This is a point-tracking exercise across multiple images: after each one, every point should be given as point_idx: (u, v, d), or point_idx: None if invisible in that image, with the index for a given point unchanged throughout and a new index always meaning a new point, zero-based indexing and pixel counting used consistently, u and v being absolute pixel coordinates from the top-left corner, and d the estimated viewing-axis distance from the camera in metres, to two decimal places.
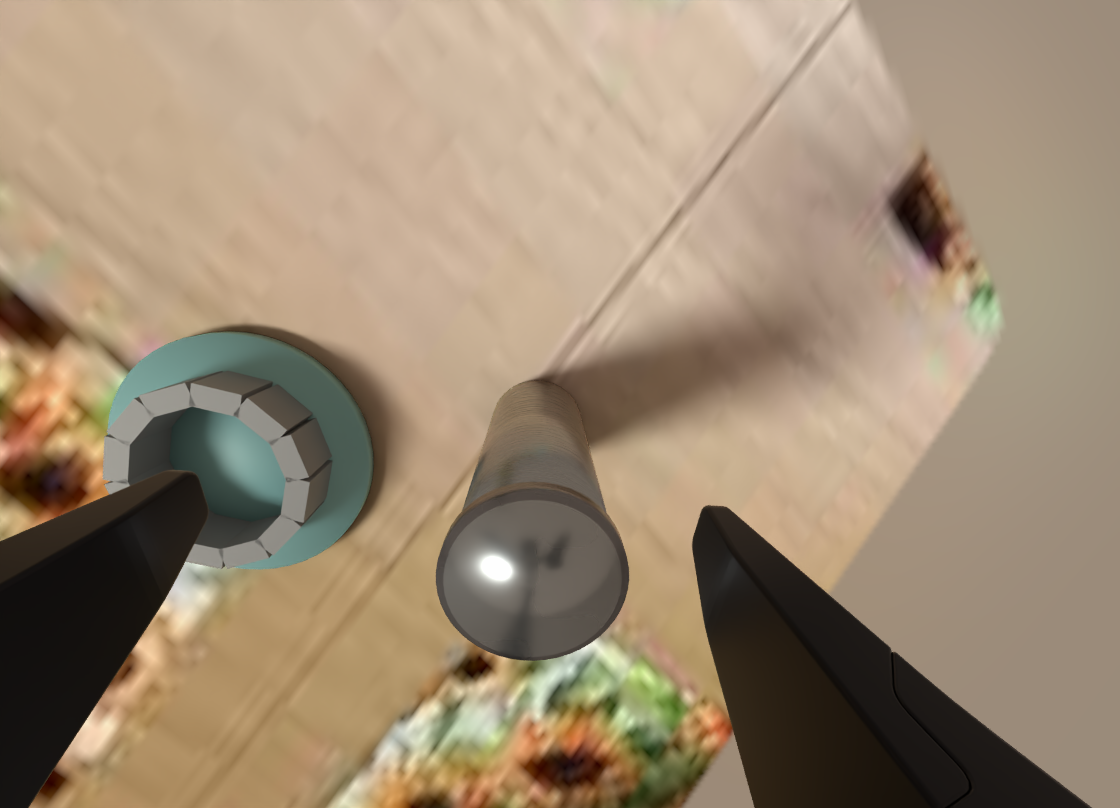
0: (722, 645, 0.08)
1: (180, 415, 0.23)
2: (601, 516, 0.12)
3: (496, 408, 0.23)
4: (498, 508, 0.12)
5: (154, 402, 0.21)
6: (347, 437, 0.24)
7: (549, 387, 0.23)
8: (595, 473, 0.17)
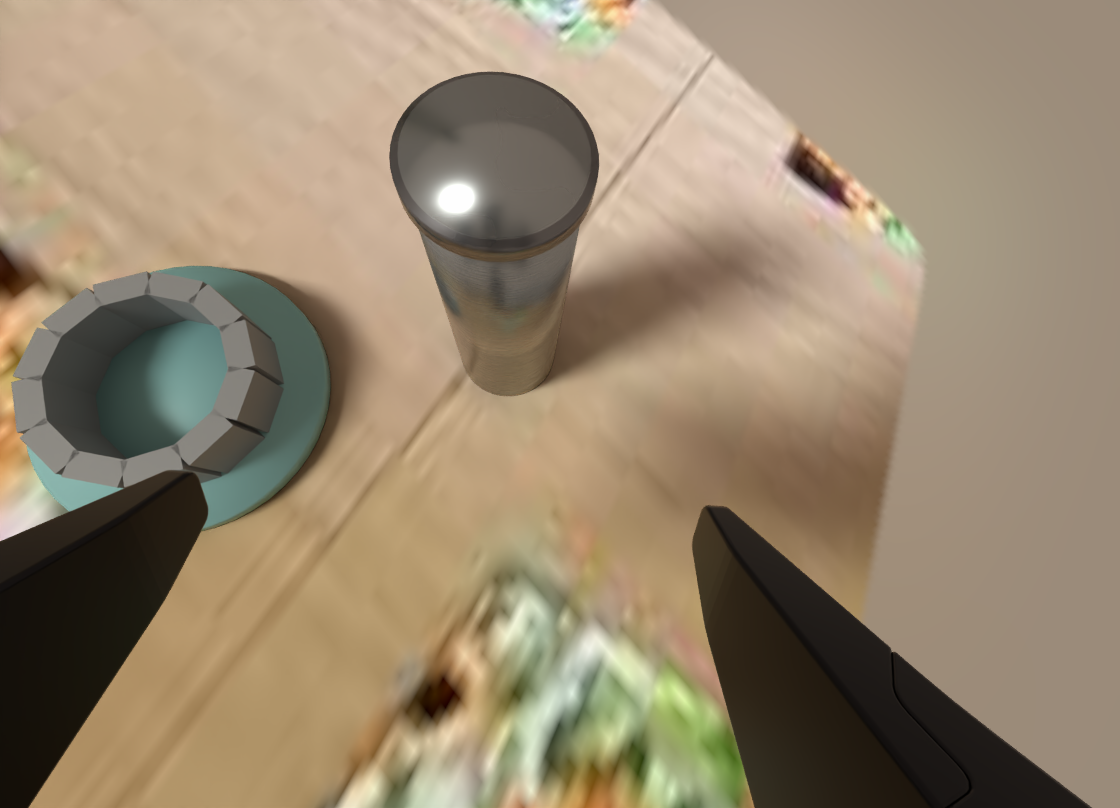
0: (722, 645, 0.08)
1: (126, 343, 0.22)
2: (561, 95, 0.12)
3: None
4: (458, 81, 0.12)
5: (107, 291, 0.20)
6: (304, 362, 0.22)
7: None
8: None
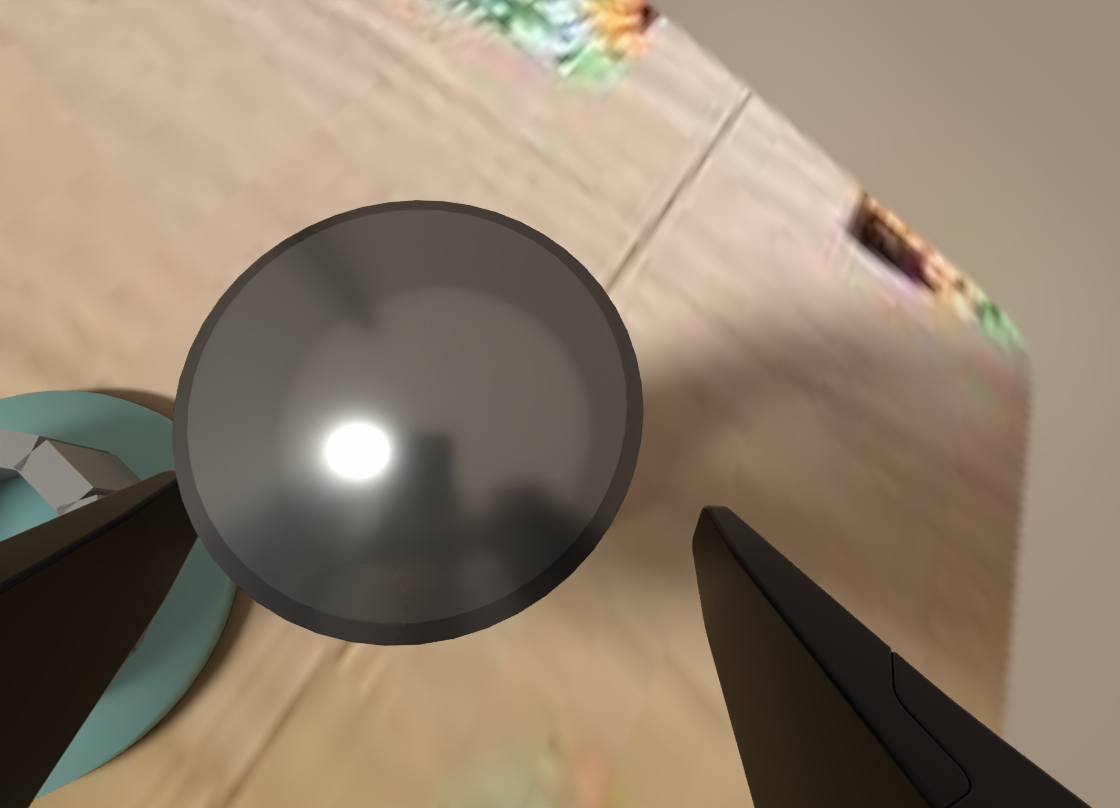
0: (722, 645, 0.08)
1: None
2: (562, 249, 0.06)
3: None
4: (343, 226, 0.06)
5: None
6: None
7: None
8: None
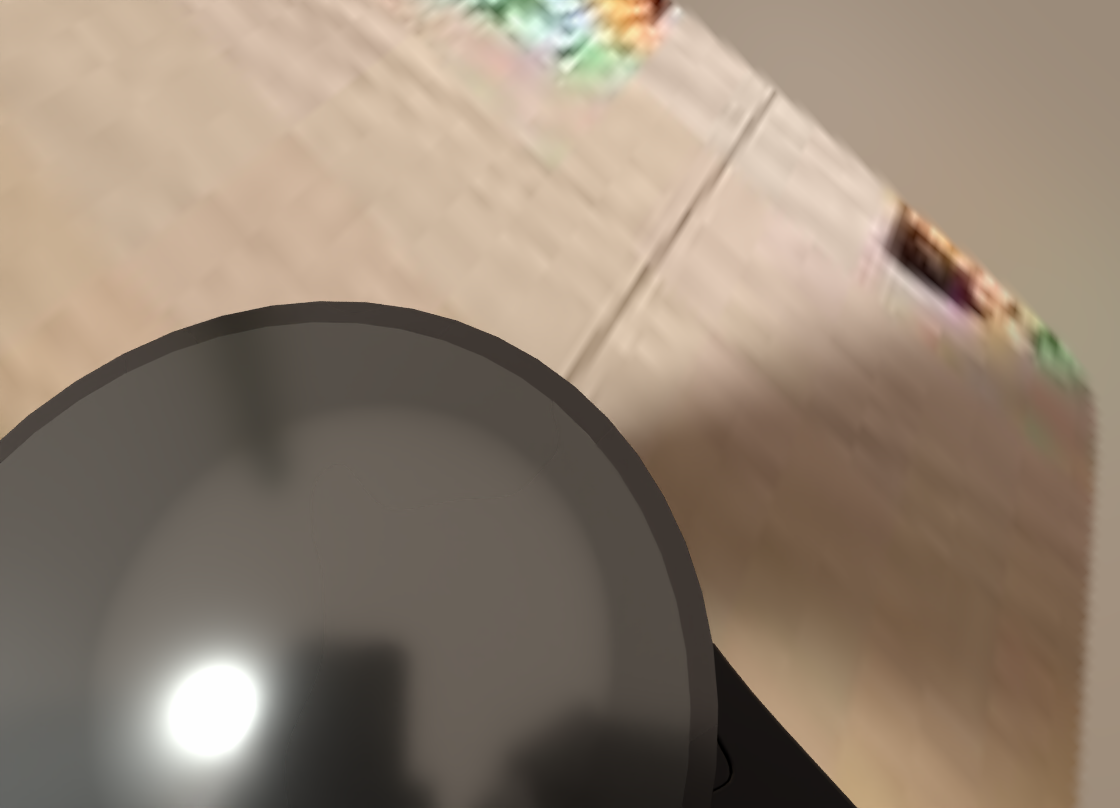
0: None
1: None
2: (569, 384, 0.03)
3: None
4: (182, 355, 0.03)
5: None
6: None
7: None
8: None
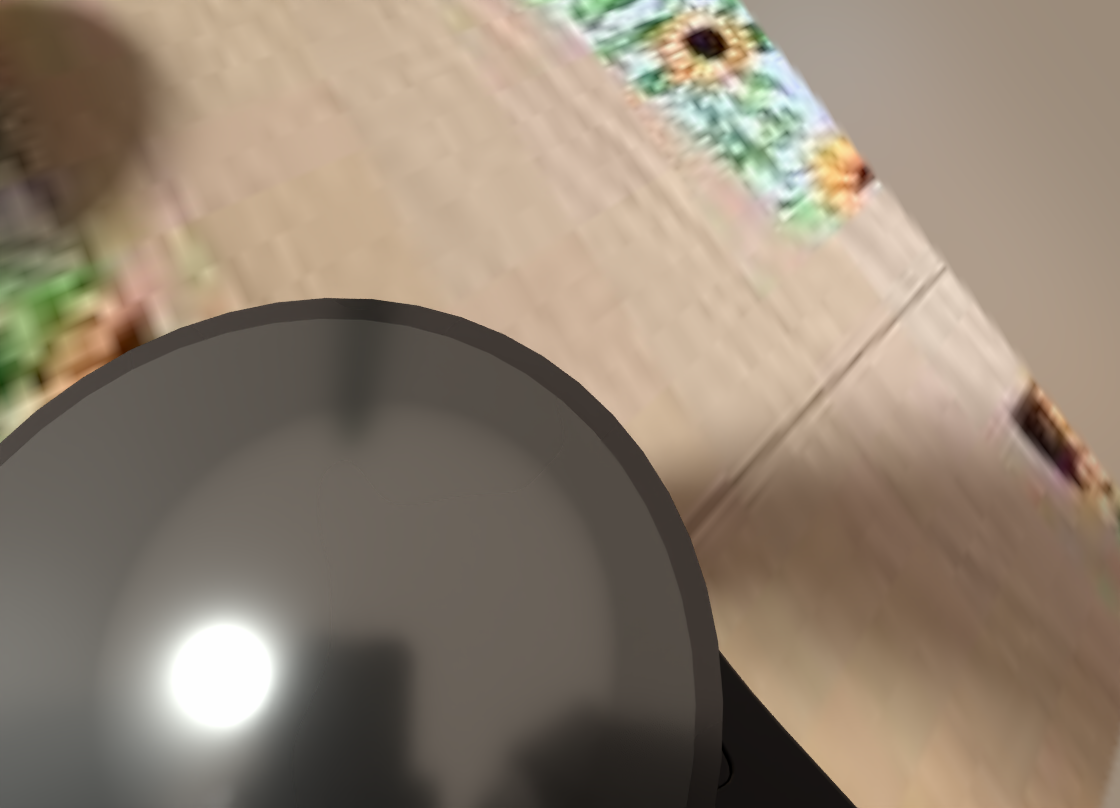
0: None
1: None
2: (574, 381, 0.03)
3: None
4: (189, 351, 0.03)
5: None
6: None
7: None
8: None
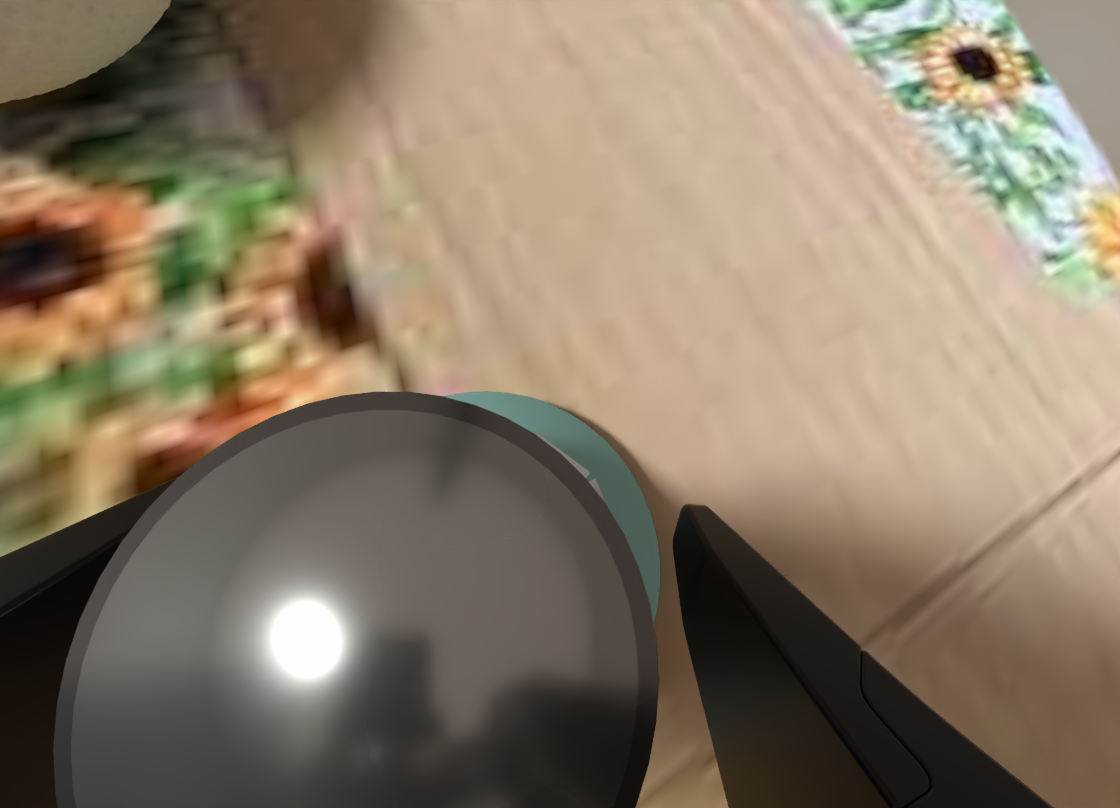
0: (699, 644, 0.08)
1: None
2: (557, 452, 0.05)
3: None
4: (282, 435, 0.04)
5: None
6: None
7: None
8: None
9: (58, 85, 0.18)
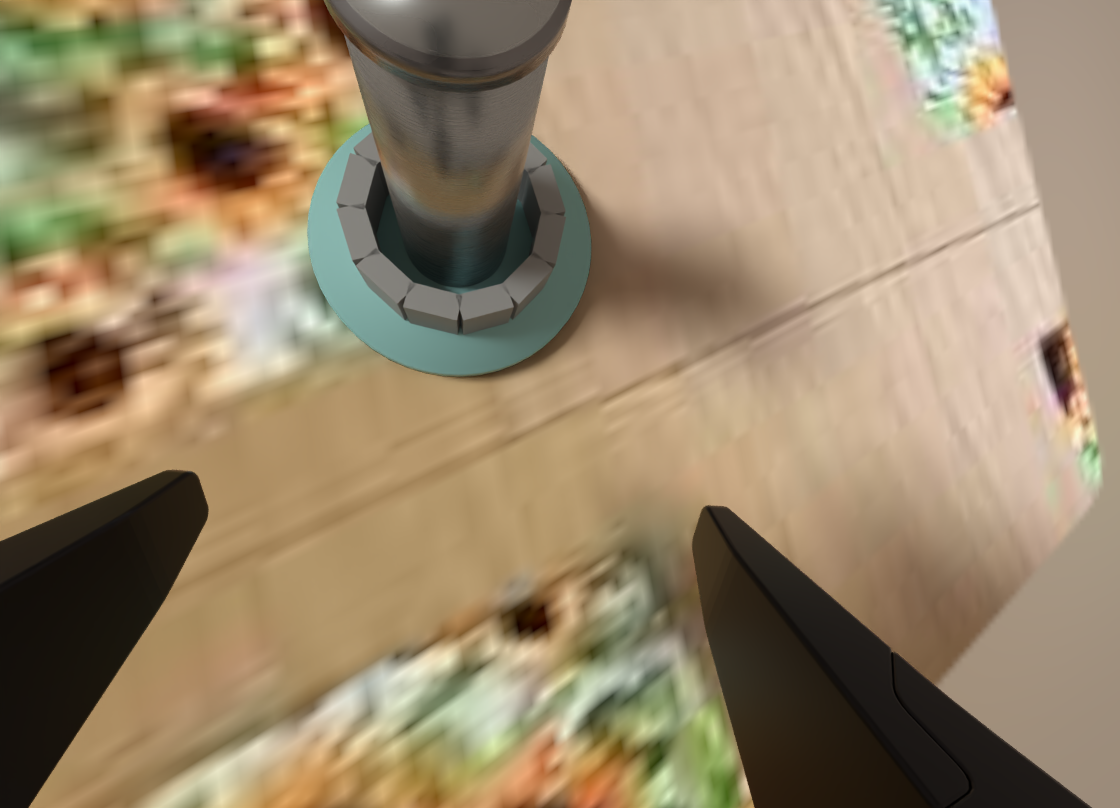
0: (722, 645, 0.08)
1: None
2: None
3: None
4: None
5: None
6: (571, 275, 0.23)
7: None
8: None
9: None
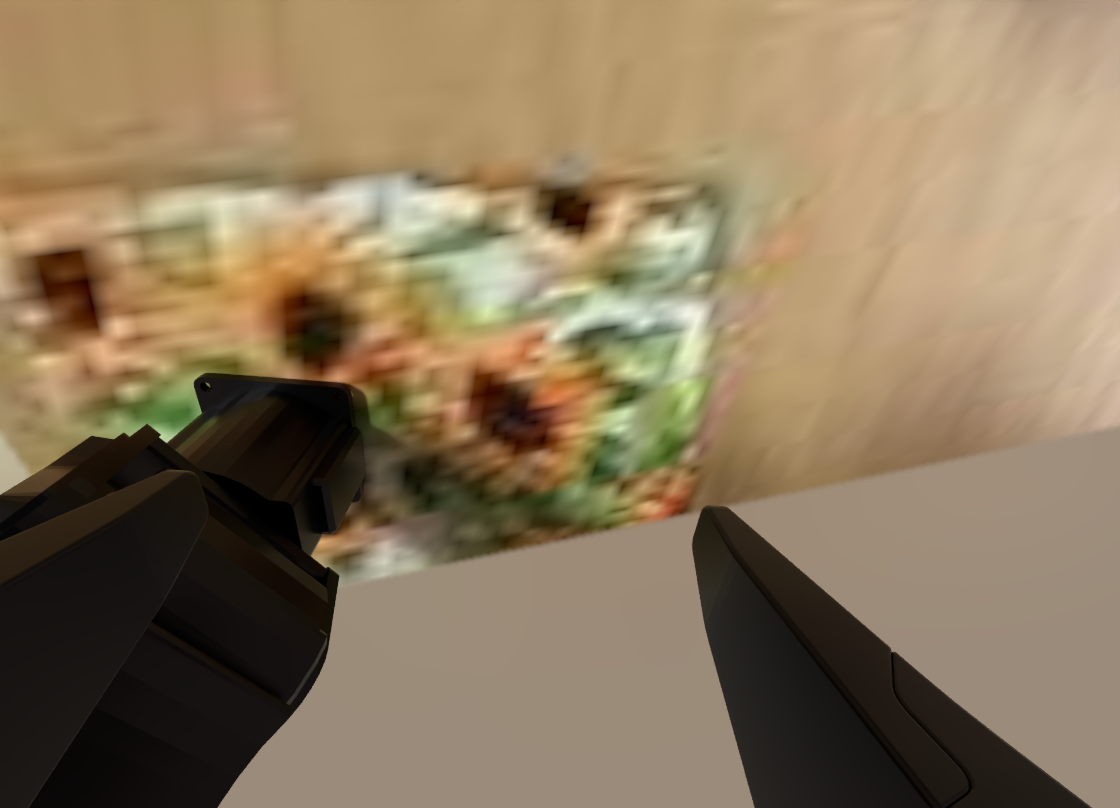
0: (722, 645, 0.08)
1: None
2: None
3: None
4: None
5: None
6: None
7: None
8: None
9: None
